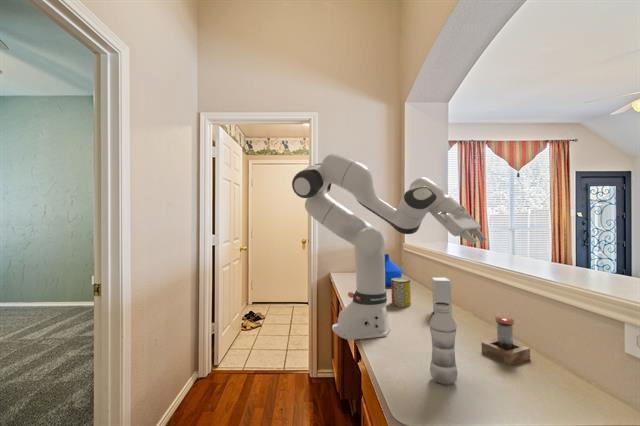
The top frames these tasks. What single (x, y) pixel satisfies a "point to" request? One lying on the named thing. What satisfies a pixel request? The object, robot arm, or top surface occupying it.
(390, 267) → the vase
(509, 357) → the collar
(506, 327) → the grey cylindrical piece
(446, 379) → the plastic bottle
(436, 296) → the skincare box
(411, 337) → the top surface
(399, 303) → the beverage can
